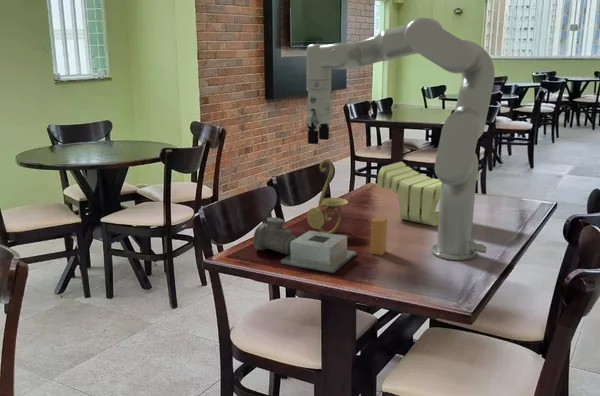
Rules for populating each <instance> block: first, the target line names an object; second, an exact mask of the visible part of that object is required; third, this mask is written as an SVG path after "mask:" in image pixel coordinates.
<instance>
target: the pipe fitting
mask: <svg viewBox="0 0 600 396" xmlns="http://www.w3.org/2000/svg"><path fill="white" fill-rule="evenodd" d="M284 223H285V220H284V219H282V218H280V217H273V216H271V217H266V223H265V222H263V223H260V224H258V225H257V227H256V228H255V230H254V233H253V238H252V244H253V247H254V248H255V249H256V250H259V251H265V250H270V251H271V250H272V251H274V252H278V253H281V254H284V255H286V256H288V255H290V254H291V251H290V242H291V241H293V240H295V239H296V238H297V236H295V235H294V234H293V233H292V231H291V230H290V229H288V228H284V227H283V225H284Z"/></svg>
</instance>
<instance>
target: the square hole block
mask: <svg viewBox="0 0 600 396" xmlns="http://www.w3.org/2000/svg"><path fill="white" fill-rule="evenodd" d="M290 251H291V254H290V255H286V256H285V257H284V258H283V257H282V259H281V260H280V264H282V265H287V266H293V267H297V268H304V269H309V270H314V271H315V270H316V271H321V272H326V273H332V274H334V273H335V272H336V271H338V270H339V269H340V268H341V267H343V266H344V265H345V264H346V263H348V262H349V261H350V260H351V259H353V258H354V257H355V256H356V255H357V251H354V250H348V235H342V234H335V233H332V234H330V233H323V232H320V231H315V230H308V231H307V232H305V233H303V234H301V235H300V236H298V237H296V239H295V240H293V241H291V242H290ZM347 261H348V262H347Z"/></svg>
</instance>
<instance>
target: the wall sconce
mask: <svg viewBox="0 0 600 396" xmlns="http://www.w3.org/2000/svg"><path fill="white" fill-rule="evenodd" d="M325 163H328V164H329V173H328V176H327V179H326V182H325V184H324V186H323V189H322V190H321V194H320V196H319V200H318V204H317V205H318V206H317V207H311V208H310V209H309V210H308V212H307V215H306V219H307V223H308V224H309V226H310V227H311V228H312V229H315V230H318V232H323V233H330V234H334V233H335V232H336V231H337V230H338V228H339V226H340V224H341V222H342V216H343V215H342V209H341V206H345V205H347V204H349V201H348V199H345V198H340V197H326V198H324V197H325V193H326V192H327V188H328V186H329V183H330V182H331V179H332V176H333V172H334V165H333V163H332V161H331V160H330V159H329V158H324V159H323V160H322V161H321V162H320V164H319V171H320V172H321V173H325V172H326V170H327V168H326V167H324V168H323V166H324V164H325ZM322 206H327V208H326V209H325V211H324V214H323V212H322V211H321V209H322ZM335 208H336V209H337V211H338V217H337V218H338V219H337V223H336V224H335V226H334V227H333V228H332V229H331V230H329V231H324V229H323V228H322V227H323V225H325V221H328V222H329V221H331V220H332V219H333V218H332V217H328V215H329V211H330V210H331V211H330V213H331V216H335V212H336V210H334V209H335Z"/></svg>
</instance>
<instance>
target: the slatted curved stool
mask: <svg viewBox="0 0 600 396" xmlns="http://www.w3.org/2000/svg"><path fill="white" fill-rule="evenodd" d="M479 177H480V171H478V173H477V180H476V182H477V181H479V179H480V178H479ZM378 189H386V190H391V191H392V192H393V193H395V194H397V199H398V202H399V203H398V204H399V209H400V213H399V215H400V219H401V220H405V221H409V222H414V223H419V224H424V225H429V226H434V227H436V226H438V223H439V209H436V207H437V205H438V203H440V191H441V181H440V180H439V179H438V178H435V177H434V178H431V177H429V176H427V175H425V174H422V173H421V174H420V172H419V171H416V170H413V168H412V167H410V166H407V164H406V163H404V161H399V162H395V163H391V164H388V165H384V166H381V168H380V169H379V171H378V173H377V190H378Z"/></svg>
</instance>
